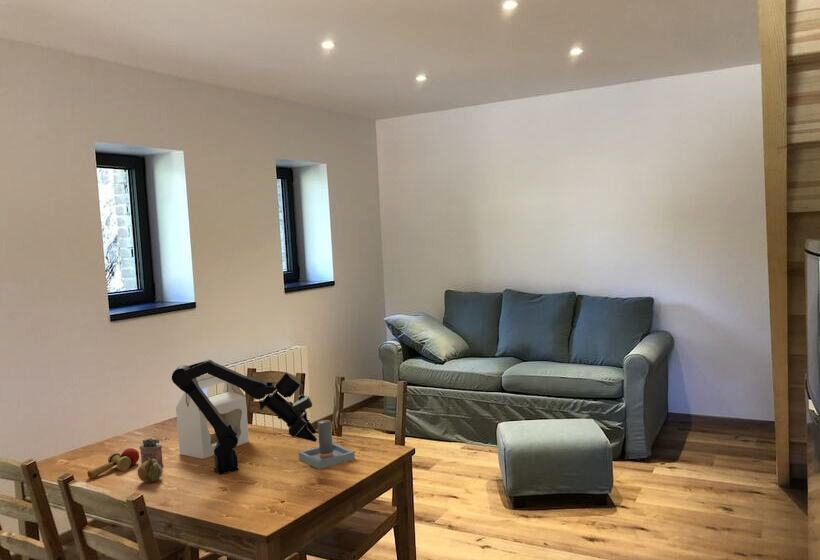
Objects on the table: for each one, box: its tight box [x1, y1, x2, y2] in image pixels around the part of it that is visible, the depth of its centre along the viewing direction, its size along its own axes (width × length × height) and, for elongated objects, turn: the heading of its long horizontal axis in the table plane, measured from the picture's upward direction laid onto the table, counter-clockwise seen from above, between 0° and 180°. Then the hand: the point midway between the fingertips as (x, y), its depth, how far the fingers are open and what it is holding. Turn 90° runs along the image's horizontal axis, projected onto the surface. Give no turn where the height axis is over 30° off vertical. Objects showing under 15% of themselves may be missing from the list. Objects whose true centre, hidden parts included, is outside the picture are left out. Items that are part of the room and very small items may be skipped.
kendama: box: [87, 447, 140, 480], centre depth 231 cm, size 8×6×18 cm
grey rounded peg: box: [317, 419, 333, 459], centre depth 230 cm, size 5×5×12 cm
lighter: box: [139, 437, 164, 469], centre depth 232 cm, size 8×3×10 cm, turn 76°
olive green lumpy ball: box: [137, 458, 163, 484], centre depth 218 cm, size 8×8×8 cm
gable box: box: [175, 373, 250, 460], centre depth 249 cm, size 22×13×28 cm, turn 147°
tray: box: [298, 442, 356, 470], centre depth 230 cm, size 14×14×2 cm
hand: (315, 436), depth 229 cm, fingers open, 9 cm apart
